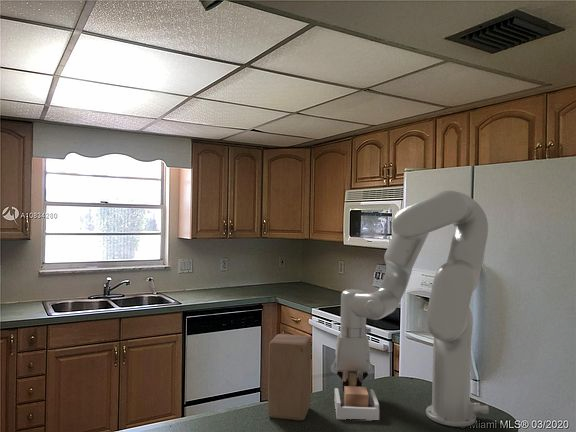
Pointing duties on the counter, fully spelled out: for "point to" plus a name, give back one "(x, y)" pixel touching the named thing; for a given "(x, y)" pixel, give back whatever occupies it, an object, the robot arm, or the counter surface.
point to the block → (355, 392)
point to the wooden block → (289, 376)
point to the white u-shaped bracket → (357, 409)
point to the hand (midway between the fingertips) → (352, 393)
